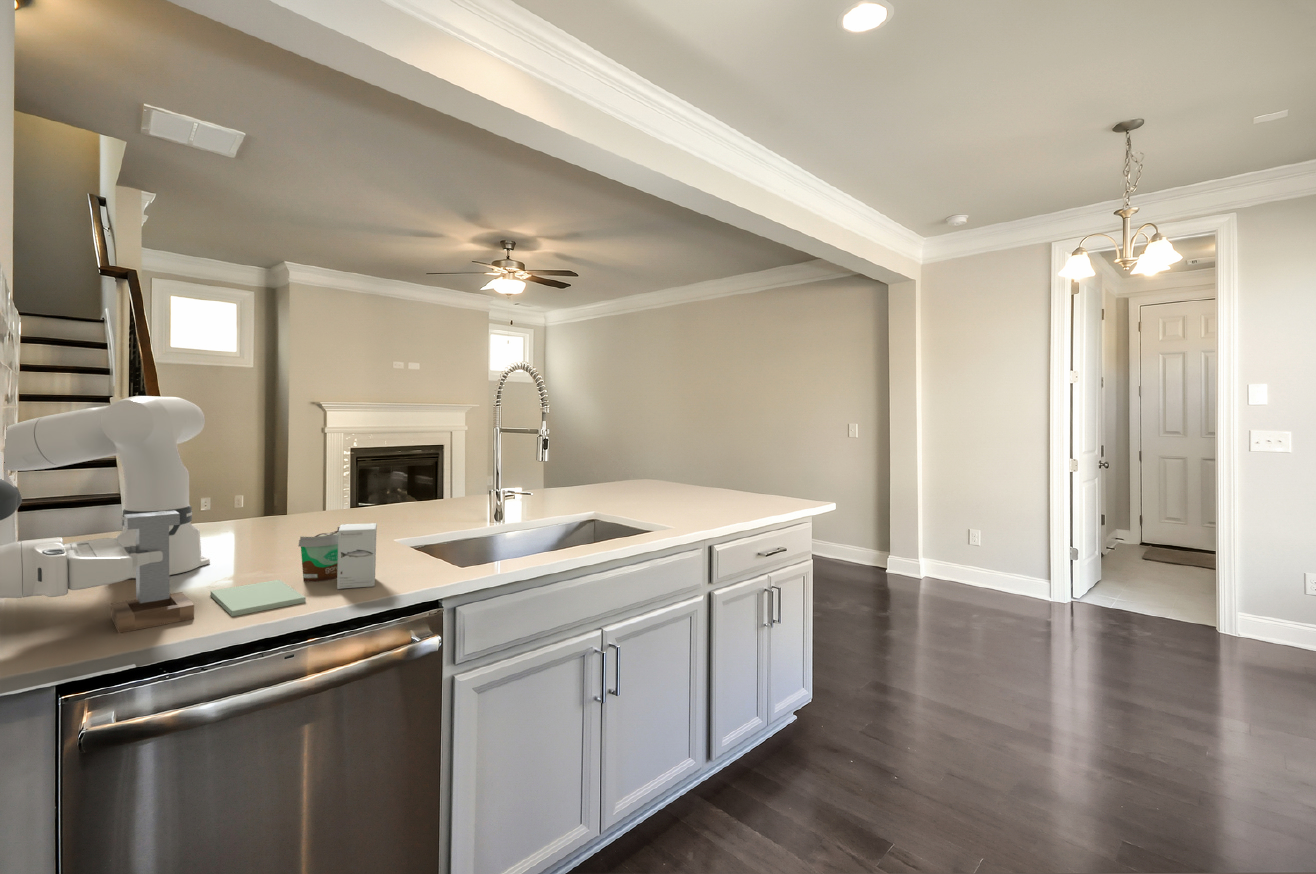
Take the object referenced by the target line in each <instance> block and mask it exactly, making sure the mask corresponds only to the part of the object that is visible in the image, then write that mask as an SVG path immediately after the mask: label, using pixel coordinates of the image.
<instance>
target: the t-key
mask: <svg viewBox="0 0 1316 874" xmlns="http://www.w3.org/2000/svg"><path fill="white" fill-rule="evenodd" d="M171 525H180V513H178V512H177V511H175V510H174V511H162V512H150V513H138V514H126V515H124V526H125V527H126V528H127V530H130V529H136V554H137V553H144V552H148V551H154V550H160V551H161V552H162V553H163V559H162V561H160V562H152V563H148V564H145V565H141V566H138V567H136V578H135V598H136V599H137V600H138V601H139V603H146V602H152V601H158V600H164V599H169V594H170V575H169V526H171ZM124 526H123V527H124Z"/></svg>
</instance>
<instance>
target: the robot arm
mask: <svg viewBox="0 0 1316 874" xmlns="http://www.w3.org/2000/svg"><path fill="white" fill-rule="evenodd" d="M205 423H206V418H205V414H204V412H203V410H202V409H201V407H200V406H198V405H197V404H195V403H194V402H192V401H190V400H187V399H184V398H182V397H178V396H155V395H153V396H152V395H135V396H129V397H126V398H122V399H120V400H117V401H115V402H113V403H111V404H109V405H104V406H97V407H96V406H95V407H89V408H88V407H87V408H82V409H77V410H72V411H66V412H62V413H55V414H51V415H44V416H41V417H36V418H35V417H34V418H31V419H27V420H24V421H20V422H17V423H14V424H10V425H7V426H8V427H7V426H6V427H7V430H6V439H5V449H4V462H5V463H4V471H5V472H4V480H2V479H0V599H5V598H6V599H7V598H8V599H22V598H29V597H40V596H44V597H47V598H48V597H49V598H57V597H63V596H66V595H68V594H69V591H79V590H85V589H90V588H91V589H92V588H95V587H96V588H97V587H100V586H101V587H102V586H105V585H111V584H117V583H121V582H124V581H127V580H130V579H136V567H138V566H141V565H145V564H148V563H152V562H160V561H162V559H163V553H162V552H161V551H160V550H154V551H148V552H144V553H137V554H136V529H130V530H127V528H126V527H125V526H124V515H126V514H138V513H150V512H162V511H174V510H175V511H177V512H178V513H180V525H171V526H169V576H172V575H177V574H181V573H185V572H189V571H192V570H196V568H200V567H201V566H205V565H208V564H211V561H210V559H211V558H209V557H205V556H202V546H201V544H202V543H201V530H200V529H199V528H197V527H196V526H194V525H193V524H192V523H191V522H192V520H193V510H192V508H193V507H192V506H191V504H190V472H189V470H188V468H187V467H186V466H185V465H184V463H183V461H182V458H181V455H180V452H179V448H178V444H183V443H185V442H187V441H190V440H191V439H193V438H195V437H197V436H198V435H200V433H202V431H203V430H204V428H205ZM115 456H118V457H119V461H120V464H121V467H122V470H123V471H122V472H123V477H124V479H123V480H124V509H123V510H122V515H121V522H122V523H121V525H122V526H123V528H122V531H121V532H119V533H118V534H117V535H116V537H104V538H96V539H86V540H80V541H73V542H67V543H64V539H63V537H62V536H61V537H60V536H57V537H47V538H39V539H38V538H37V539H28V540H18V541H17V513H16V512H17V510H18V509H19V507H20V506H21V504H22V502H23V499H22V494H21V492H20V490H19V488H18V486H16V485H14V483H13V481H12V480H11V477H10V476H9V474H8V472H7V471H10V472H11V471H12V472H18V471H19V472H22V471H23V472H25V471H26V472H27V471H35V470H37V471H39V470H45V469H53V468H54V469H55V468H58V467H65V466H69V465H74V464H79V463H83V462H88V461H93V460H95V461H96V460H100V459H103V458H110V457H115Z"/></svg>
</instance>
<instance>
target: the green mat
mask: <svg viewBox="0 0 1316 874" xmlns="http://www.w3.org/2000/svg"><path fill="white" fill-rule="evenodd" d="M210 597H211V598H212V599H214V601H215V602H216V603H217V604H218V605H219V606H221V608H222V609H223V610H225V611H226V612H227V613H228V614H229V615H230V616H231V617H237V616H241V615H242V616H243V615H247V614H252V613H257V612H262V611H267V610H272V609H277V608H282V607H288V606H289V607H290V606H293V605H298V604H304V603H306V602H307V601H306V596H304V595H303V594H301V593H300V592H298V591H297V590H295V588H293V587H292V586H290V585H288V584H287V583H285V582H284V581H283V580H281V579H275V580H269V581H261V582H257V583H255V582H254V583H251V584H249V583H248V584H244V585H238V586H231V587H226V588H219V589H213V590H210Z"/></svg>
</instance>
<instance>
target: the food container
mask: <svg viewBox="0 0 1316 874" xmlns="http://www.w3.org/2000/svg"><path fill="white" fill-rule="evenodd" d="M339 528H340V526H337V529H336V530H335V531H333V532H325V533H324V532H323V533H319V534H317V535H315V536H300V539H299V540H298V545H297V546H298V547H300V553H301V554H300V555H301V565H302V566H301V567H302V568H301V569H302V580H303V582H326V581H329V580H330V581H331V580H335V579H336V580H337V572H338V532H339Z"/></svg>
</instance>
